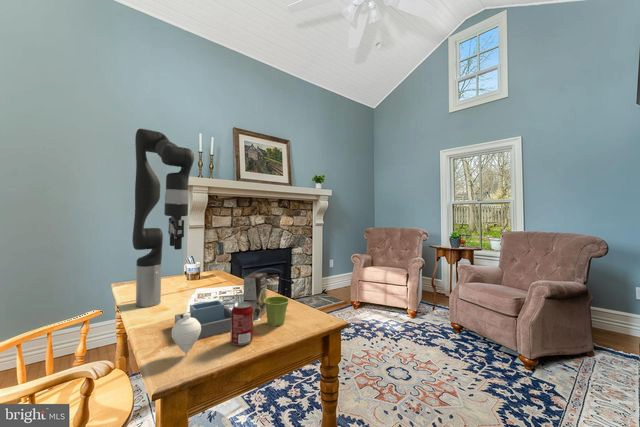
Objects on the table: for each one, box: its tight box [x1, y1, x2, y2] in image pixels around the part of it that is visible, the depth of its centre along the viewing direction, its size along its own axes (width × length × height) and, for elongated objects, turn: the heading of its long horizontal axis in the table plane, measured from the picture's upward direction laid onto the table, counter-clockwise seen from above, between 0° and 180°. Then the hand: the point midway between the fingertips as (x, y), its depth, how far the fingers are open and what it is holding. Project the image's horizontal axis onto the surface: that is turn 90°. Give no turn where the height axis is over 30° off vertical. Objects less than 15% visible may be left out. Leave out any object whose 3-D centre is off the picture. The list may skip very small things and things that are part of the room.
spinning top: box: [170, 312, 201, 357], centre depth 79 cm, size 8×8×12 cm
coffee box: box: [242, 272, 268, 321], centre depth 111 cm, size 9×6×16 cm
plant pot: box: [264, 295, 290, 327], centre depth 103 cm, size 9×9×9 cm
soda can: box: [230, 301, 254, 347], centre depth 88 cm, size 7×7×12 cm
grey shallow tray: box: [174, 305, 232, 340], centre depth 98 cm, size 15×18×4 cm
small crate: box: [189, 299, 225, 325], centre depth 99 cm, size 6×10×7 cm, turn 128°
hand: (175, 247), depth 100 cm, fingers open, 8 cm apart
